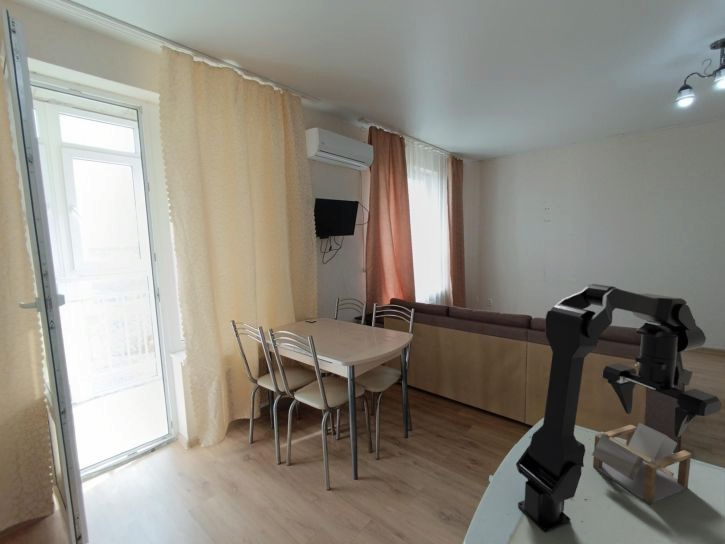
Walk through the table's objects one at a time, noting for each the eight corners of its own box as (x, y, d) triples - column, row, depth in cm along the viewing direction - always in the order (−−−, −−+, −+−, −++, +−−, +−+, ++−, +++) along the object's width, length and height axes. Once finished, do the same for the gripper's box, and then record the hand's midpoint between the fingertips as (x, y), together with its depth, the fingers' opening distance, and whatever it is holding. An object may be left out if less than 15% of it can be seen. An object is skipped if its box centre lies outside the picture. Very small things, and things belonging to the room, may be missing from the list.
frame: (649, 504, 65) (653, 465, 64) (592, 466, 75) (595, 433, 74) (687, 487, 69) (691, 451, 68) (628, 454, 79) (631, 422, 78)
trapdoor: (630, 479, 64) (642, 453, 65) (590, 453, 72) (601, 430, 72) (662, 498, 69) (674, 473, 69) (621, 472, 76) (632, 450, 77)
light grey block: (653, 460, 69) (665, 435, 69) (627, 446, 74) (639, 422, 74) (665, 468, 70) (677, 443, 71) (639, 454, 75) (650, 430, 76)
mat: (649, 504, 65) (649, 501, 65) (592, 466, 75) (593, 464, 75) (687, 487, 69) (687, 485, 68) (628, 454, 79) (629, 452, 79)
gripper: (741, 364, 64) (732, 440, 65) (634, 337, 81) (629, 397, 83) (706, 373, 60) (698, 454, 62) (602, 342, 77) (598, 406, 79)
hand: (651, 424), depth 72 cm, fingers open, 9 cm apart
